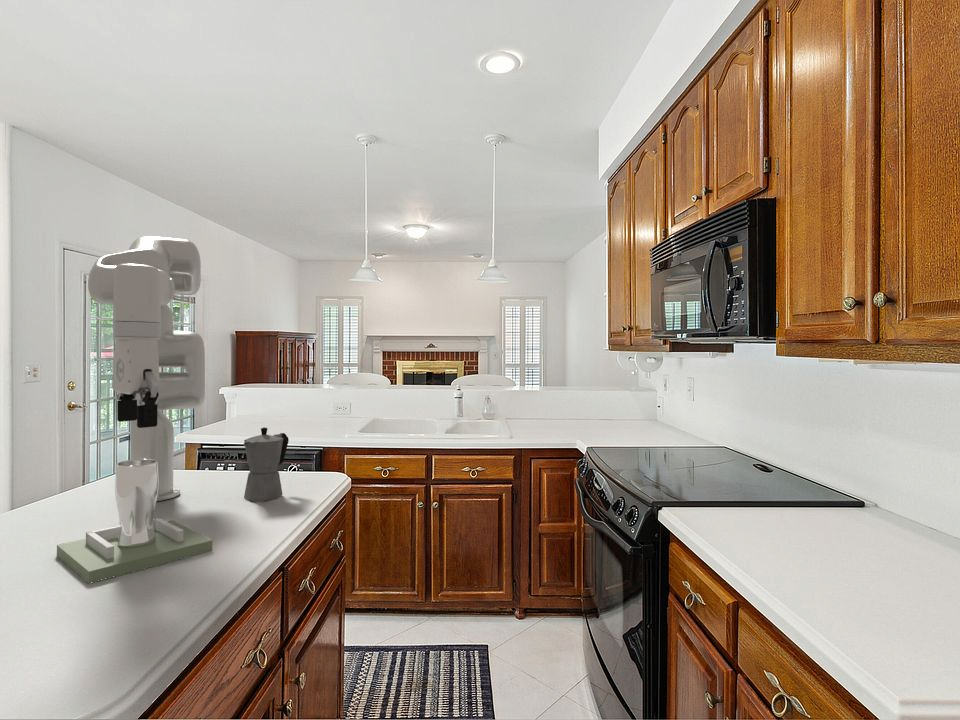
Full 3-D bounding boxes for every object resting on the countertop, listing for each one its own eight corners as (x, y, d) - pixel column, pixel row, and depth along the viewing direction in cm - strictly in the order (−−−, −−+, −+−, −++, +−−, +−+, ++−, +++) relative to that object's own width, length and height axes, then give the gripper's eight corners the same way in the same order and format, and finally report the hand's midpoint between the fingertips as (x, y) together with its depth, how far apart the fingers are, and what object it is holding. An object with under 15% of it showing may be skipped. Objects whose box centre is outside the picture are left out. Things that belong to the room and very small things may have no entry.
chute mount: (56, 555, 102) (56, 534, 102) (172, 529, 118) (172, 510, 118) (88, 583, 91) (88, 559, 91) (212, 550, 106) (212, 529, 106)
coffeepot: (259, 505, 136) (259, 432, 136) (229, 501, 140) (230, 429, 139) (301, 491, 150) (301, 424, 150) (273, 487, 154) (273, 422, 153)
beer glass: (137, 550, 100) (138, 467, 100) (104, 546, 102) (105, 465, 101) (166, 537, 107) (167, 459, 107) (135, 534, 109) (135, 457, 108)
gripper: (98, 330, 106) (97, 420, 107) (132, 332, 95) (131, 432, 96) (141, 332, 112) (141, 417, 112) (178, 333, 101) (178, 427, 101)
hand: (136, 423), depth 104 cm, fingers open, 9 cm apart
